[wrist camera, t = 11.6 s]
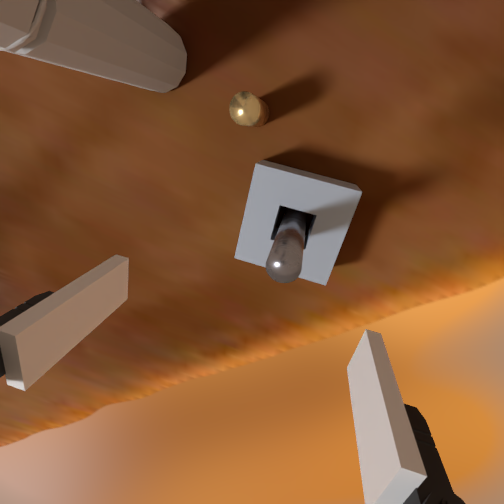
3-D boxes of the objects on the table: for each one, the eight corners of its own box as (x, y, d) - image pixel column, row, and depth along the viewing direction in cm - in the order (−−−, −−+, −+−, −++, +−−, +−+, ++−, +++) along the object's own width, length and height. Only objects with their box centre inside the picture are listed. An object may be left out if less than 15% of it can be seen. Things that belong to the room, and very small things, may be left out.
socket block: (263, 159, 37) (255, 163, 32) (356, 184, 35) (362, 191, 31) (243, 244, 41) (234, 257, 37) (324, 268, 40) (325, 285, 36)
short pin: (247, 96, 34) (232, 88, 28) (272, 102, 34) (262, 95, 28) (242, 123, 35) (226, 121, 29) (265, 129, 35) (255, 128, 29)
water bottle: (197, 90, 35) (-19, 11, 12) (139, 98, 37) (-144, 39, 14) (184, -4, 32) (-141, -349, 9) (121, 9, 33) (-285, -255, 11)
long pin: (287, 203, 38) (270, 245, 23) (309, 209, 38) (306, 256, 23) (281, 224, 39) (261, 276, 25) (302, 230, 39) (295, 287, 24)
